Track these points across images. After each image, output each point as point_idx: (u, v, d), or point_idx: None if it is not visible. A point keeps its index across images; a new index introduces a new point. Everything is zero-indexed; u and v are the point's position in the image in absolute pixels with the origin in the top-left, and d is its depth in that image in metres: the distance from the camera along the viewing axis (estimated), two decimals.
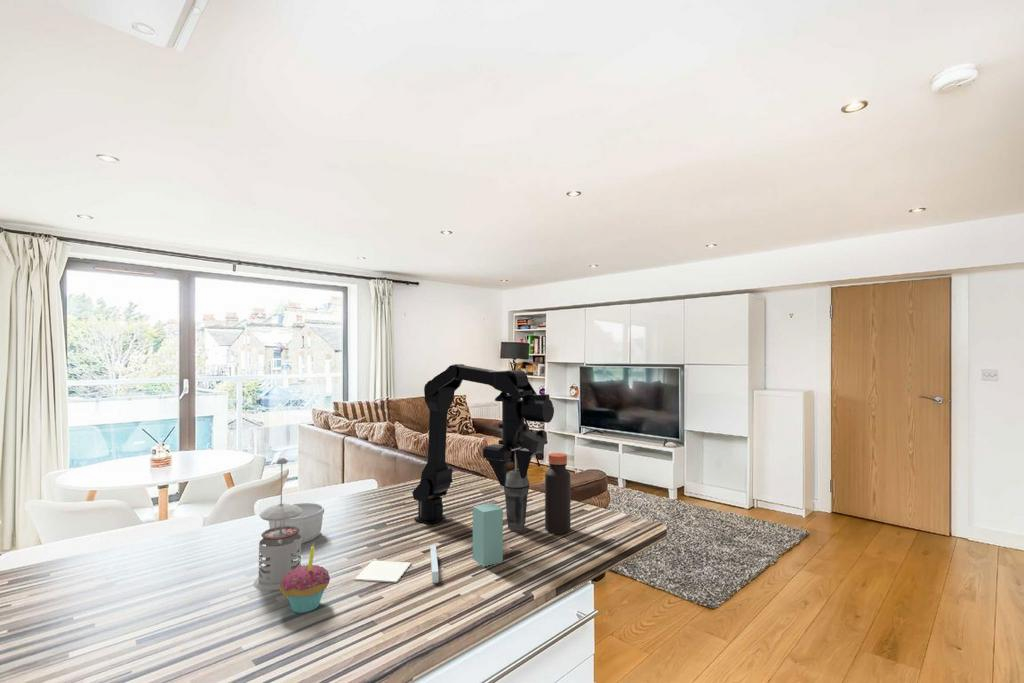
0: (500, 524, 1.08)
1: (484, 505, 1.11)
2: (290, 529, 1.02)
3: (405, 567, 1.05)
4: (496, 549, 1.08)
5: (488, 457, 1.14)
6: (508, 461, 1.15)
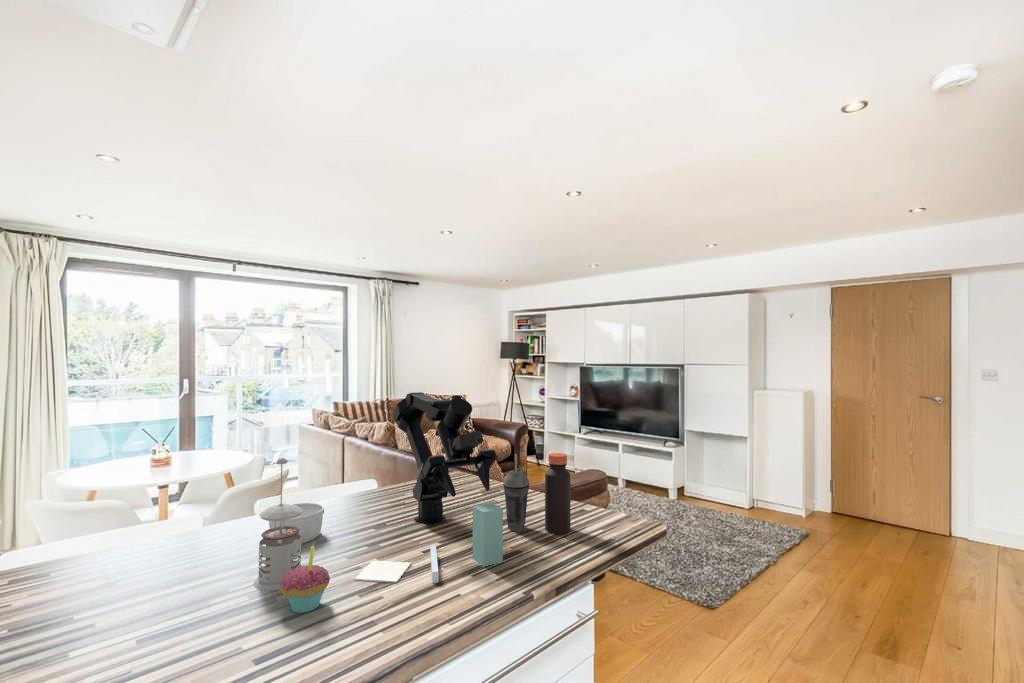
0: (500, 524, 1.08)
1: (484, 505, 1.11)
2: (290, 529, 1.02)
3: (405, 567, 1.05)
4: (496, 549, 1.08)
5: (426, 472, 1.16)
6: (443, 466, 1.15)
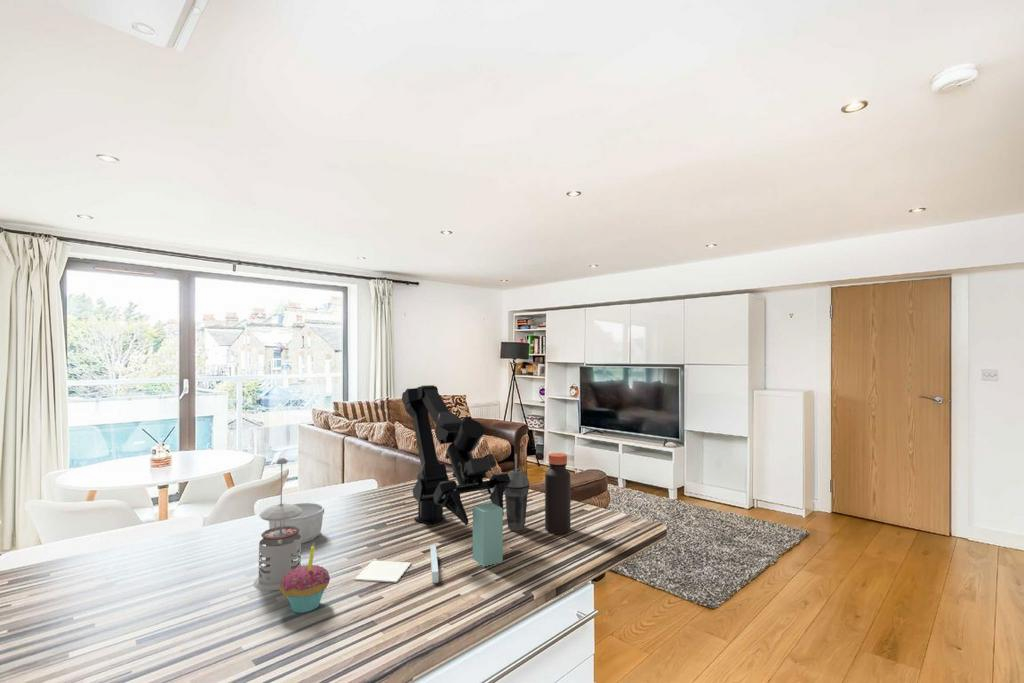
0: (500, 524, 1.08)
1: (484, 505, 1.11)
2: (290, 529, 1.02)
3: (405, 567, 1.05)
4: (496, 549, 1.08)
5: (436, 499, 1.11)
6: (455, 492, 1.10)
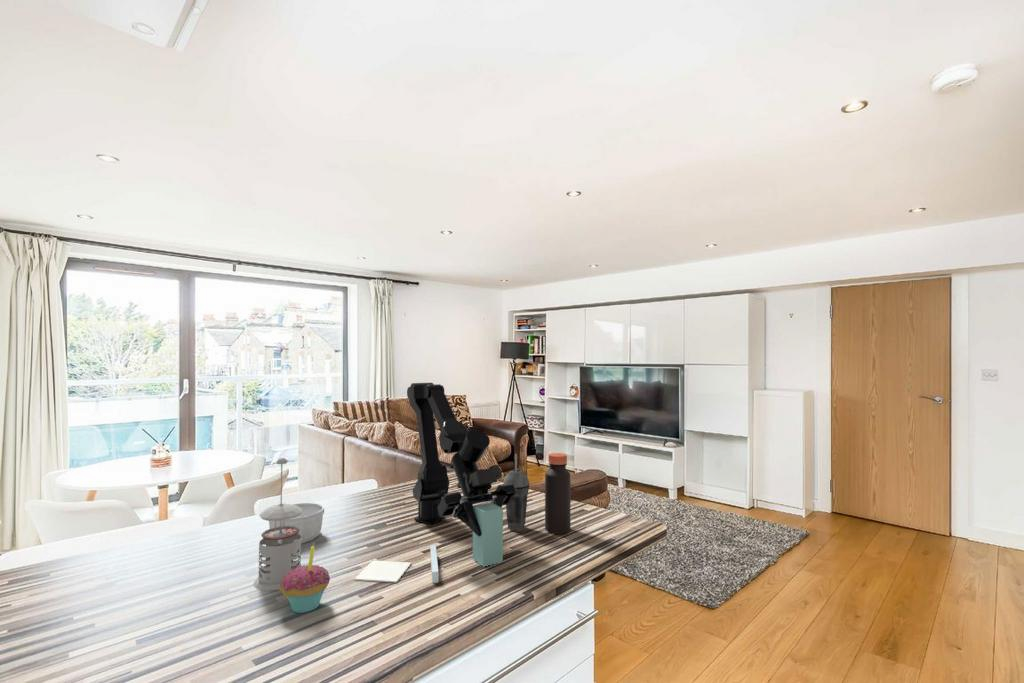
0: (500, 524, 1.08)
1: (484, 505, 1.11)
2: (290, 529, 1.02)
3: (405, 567, 1.05)
4: (496, 549, 1.08)
5: (441, 511, 1.08)
6: (468, 503, 1.08)
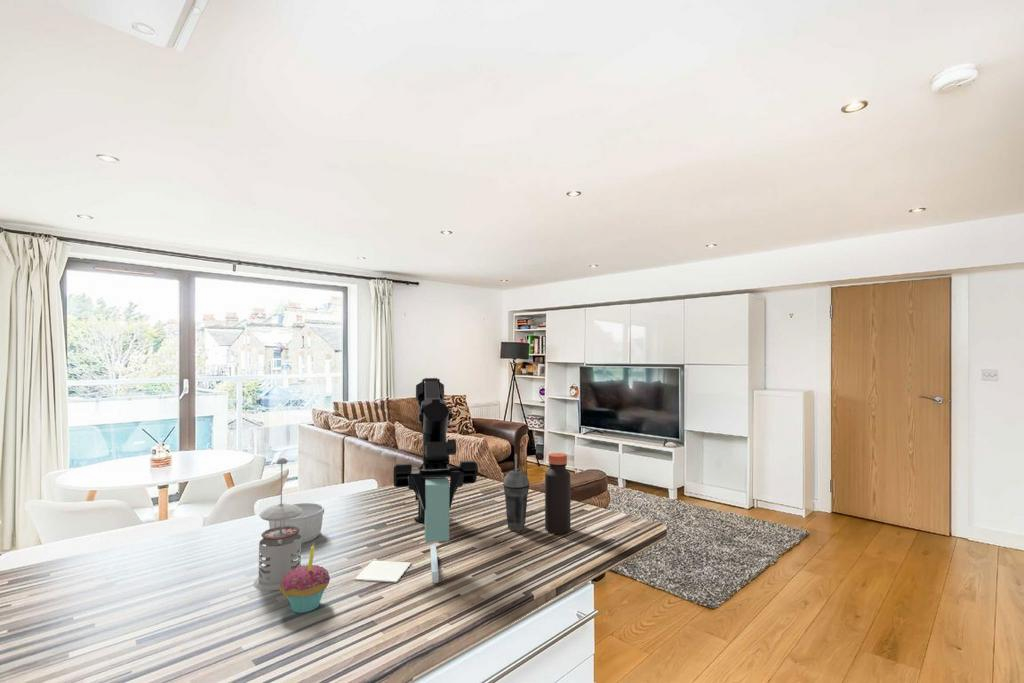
0: (446, 501, 1.03)
1: (436, 479, 1.07)
2: (290, 529, 1.02)
3: (405, 567, 1.05)
4: (441, 525, 1.03)
5: None
6: (416, 475, 1.06)
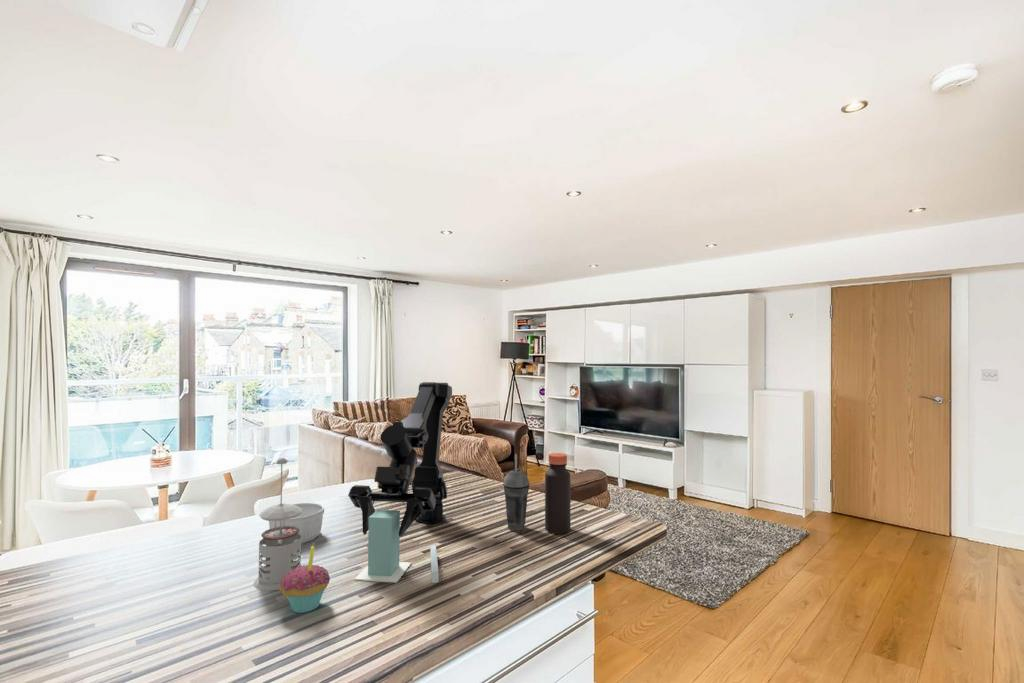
0: (388, 535, 1.01)
1: (387, 511, 1.05)
2: (290, 529, 1.02)
3: (405, 567, 1.05)
4: (383, 560, 1.01)
5: None
6: (362, 498, 1.06)
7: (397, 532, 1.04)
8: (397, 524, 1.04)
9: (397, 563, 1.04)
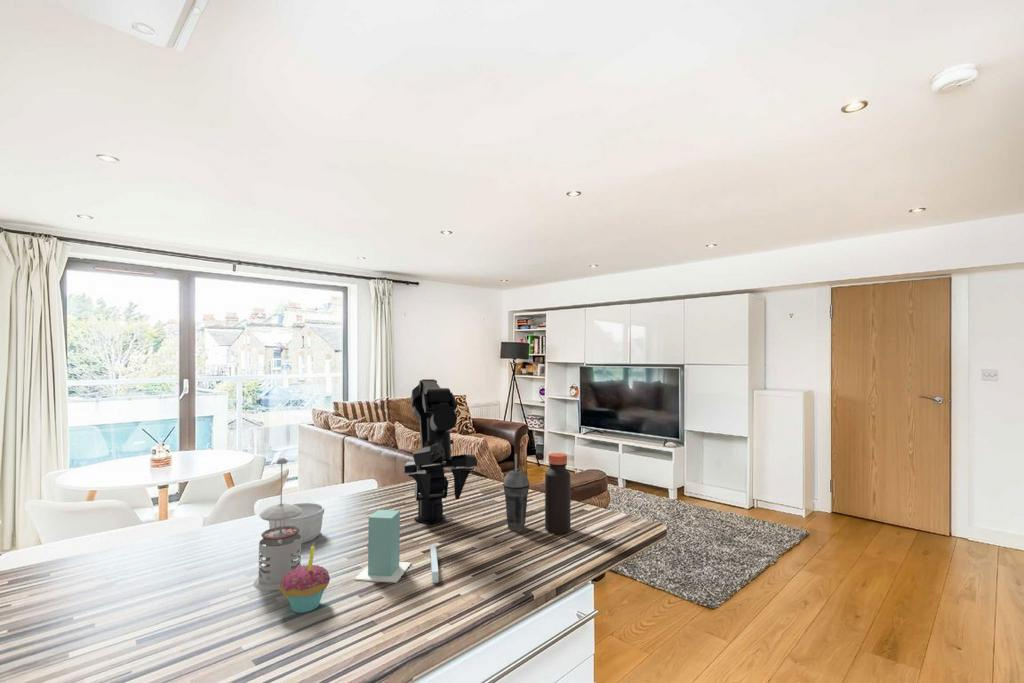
0: (388, 535, 1.01)
1: (387, 511, 1.05)
2: (290, 529, 1.02)
3: (405, 567, 1.05)
4: (383, 560, 1.01)
5: None
6: (413, 475, 1.21)
7: (397, 532, 1.04)
8: (397, 524, 1.04)
9: (397, 563, 1.04)
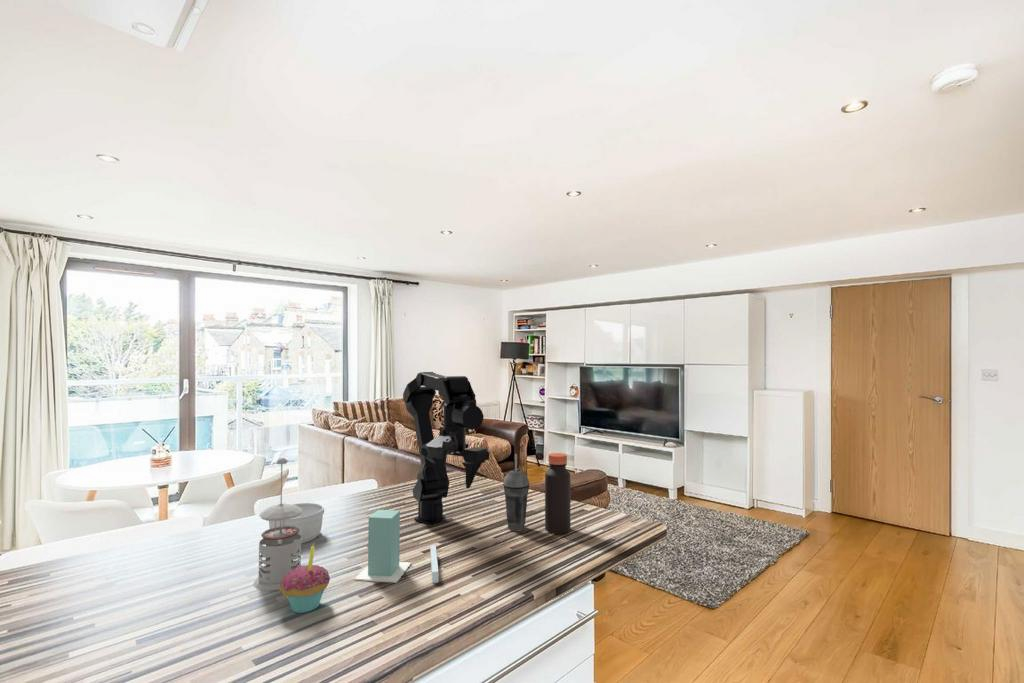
0: (388, 535, 1.01)
1: (387, 511, 1.05)
2: (290, 529, 1.02)
3: (405, 567, 1.05)
4: (383, 560, 1.01)
5: None
6: (429, 458, 1.26)
7: (397, 532, 1.04)
8: (397, 524, 1.04)
9: (397, 563, 1.04)
